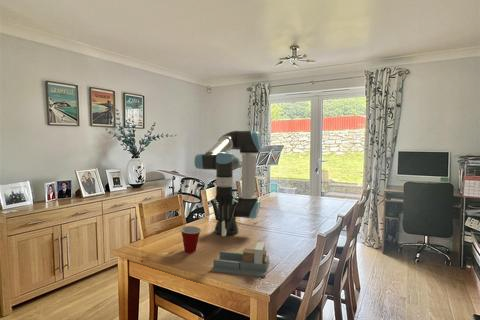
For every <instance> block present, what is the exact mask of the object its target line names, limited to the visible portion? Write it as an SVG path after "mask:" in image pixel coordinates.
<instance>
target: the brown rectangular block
mask: <svg viewBox="0 0 480 320" xmlns="http://www.w3.org/2000/svg"><path fill="white" fill-rule="evenodd" d="M254 250H255V248H249V247H248V248H246V247H245V248H244V249H243V250H242V253H243V262H246V261H248V262H254ZM266 256H267V249H265V250H263V258H262V263H265V259H266Z"/></svg>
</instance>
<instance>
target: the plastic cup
mask: <svg viewBox="0 0 480 320" xmlns="http://www.w3.org/2000/svg"><path fill="white" fill-rule="evenodd" d="M180 232H181V236H182V243H183V248H184V252H185V253H187V254H192V253H196V250H197V247H198V241H199V238H200V234H201V232H202V229H201V228H200V227H199V226H193V225H188V226H187V225H186V226H183V227H180Z"/></svg>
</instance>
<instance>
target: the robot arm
mask: <svg viewBox="0 0 480 320" xmlns="http://www.w3.org/2000/svg"><path fill="white" fill-rule="evenodd" d="M262 145H263V144H262V137H261V134H260V133H259V132H258V131H256V130H233V131H229V132H227V133H225V134H223V135H222V136H220V137H219V138H218V140H217V142H216V143H215V144H214V145H213V146H212V147H211V148H210V149H208V150H207V151H206V152H205V153H204V154H203V153H201V154H196V155H195V157H194V165H195V166H194V167H195V168H196V169H198V170H209V171H212V170H214V171H216V176H215V177H216V180H215V182H216V183H215V184H216V190H215V191H216V192H215V193H216V194H215V196H214V197H215V198H211V200H210V203H211V204H212V208H213V213H214V217H215V221H216V224H215V226H214V234H216V235H219V236H221V237H226V236H227V237H228V236H235V235H237V234H239V226H238V224H237V218H244V219H256V218H257V217H258V216H259V212H260V209H261V200H260V199H258V195H257V194H256V173H257V172H256V170H257V168H256V166H257V165H256V164H257V155H258V154H259V151H261V150H262ZM231 150H236V151H237V150H239V154H241V160H240V158H239V156H237V155H235V154H233V153H232V152H230V151H231ZM240 164H241V193H240V194H239V195H238V197H237V195H233V177H234V176H233V173H234V172H233V171H235V170H237V169H238V168H239V167H240Z"/></svg>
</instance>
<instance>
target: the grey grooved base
mask: <svg viewBox="0 0 480 320" xmlns="http://www.w3.org/2000/svg"><path fill="white" fill-rule="evenodd" d="M265 246H266V243H265V242H257V243H256V245H255V248H254V249H255V250H254V262H248V261H246V262H243V252H234V251H226V250H225V251H224V250H219V258H218V259H216V258H213V262H212V263H213V266H212V268H211V272H214V273H225V274H232V275H240V276H241V275H242V276H249V277H256V278H266V276H267V273H268V269H269V265H270V257H269V255H266V259H265V263H262V258H263V250H266V247H265Z"/></svg>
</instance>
